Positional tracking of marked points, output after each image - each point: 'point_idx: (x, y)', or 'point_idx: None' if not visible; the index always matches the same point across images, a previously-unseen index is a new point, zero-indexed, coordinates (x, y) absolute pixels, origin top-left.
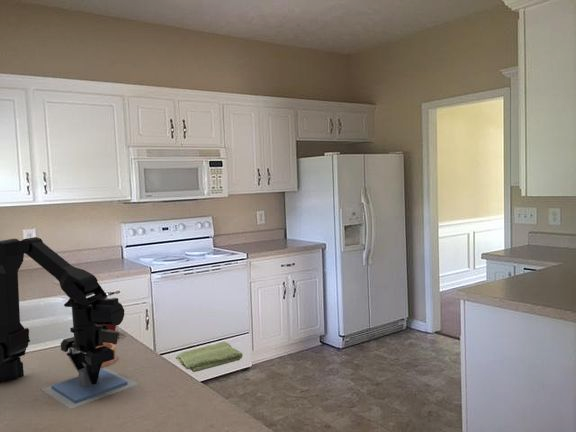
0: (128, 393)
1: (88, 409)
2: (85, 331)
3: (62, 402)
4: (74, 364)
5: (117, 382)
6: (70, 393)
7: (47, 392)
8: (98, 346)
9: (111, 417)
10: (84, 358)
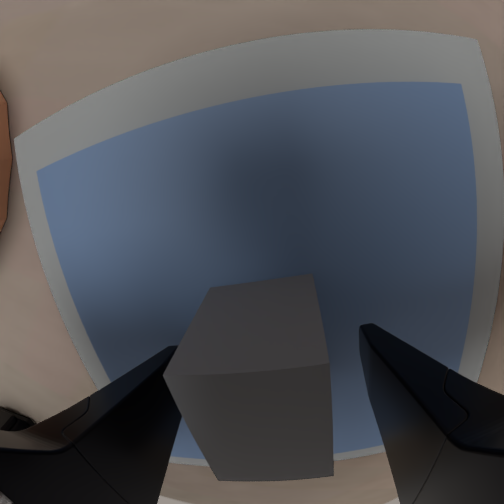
0: (500, 134)
1: (490, 363)
2: None
3: (373, 451)
4: (150, 502)
5: (428, 148)
6: (343, 440)
7: (201, 463)
8: None
9: None
10: (89, 475)
